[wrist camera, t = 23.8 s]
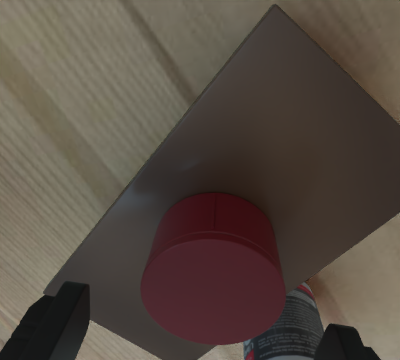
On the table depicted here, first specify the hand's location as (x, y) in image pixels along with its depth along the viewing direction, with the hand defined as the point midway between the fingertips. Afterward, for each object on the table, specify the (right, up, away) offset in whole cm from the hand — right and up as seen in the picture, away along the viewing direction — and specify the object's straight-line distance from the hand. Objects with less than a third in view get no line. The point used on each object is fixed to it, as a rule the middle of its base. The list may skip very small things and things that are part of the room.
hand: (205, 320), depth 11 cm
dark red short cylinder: (0, +2, +4) cm, 4 cm away
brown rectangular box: (+1, +5, +10) cm, 11 cm away
